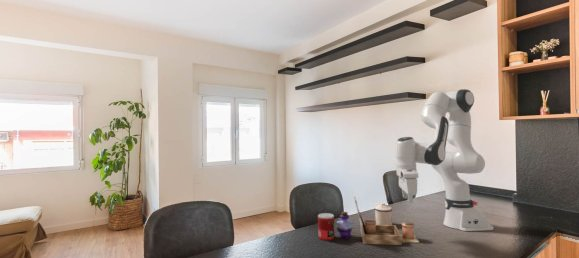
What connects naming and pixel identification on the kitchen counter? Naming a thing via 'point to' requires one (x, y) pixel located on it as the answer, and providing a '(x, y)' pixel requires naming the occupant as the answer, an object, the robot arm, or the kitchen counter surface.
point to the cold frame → (380, 233)
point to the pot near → (408, 230)
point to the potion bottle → (344, 226)
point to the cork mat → (410, 240)
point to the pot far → (370, 226)
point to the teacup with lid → (383, 214)
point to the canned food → (326, 226)
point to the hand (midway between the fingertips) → (407, 200)
